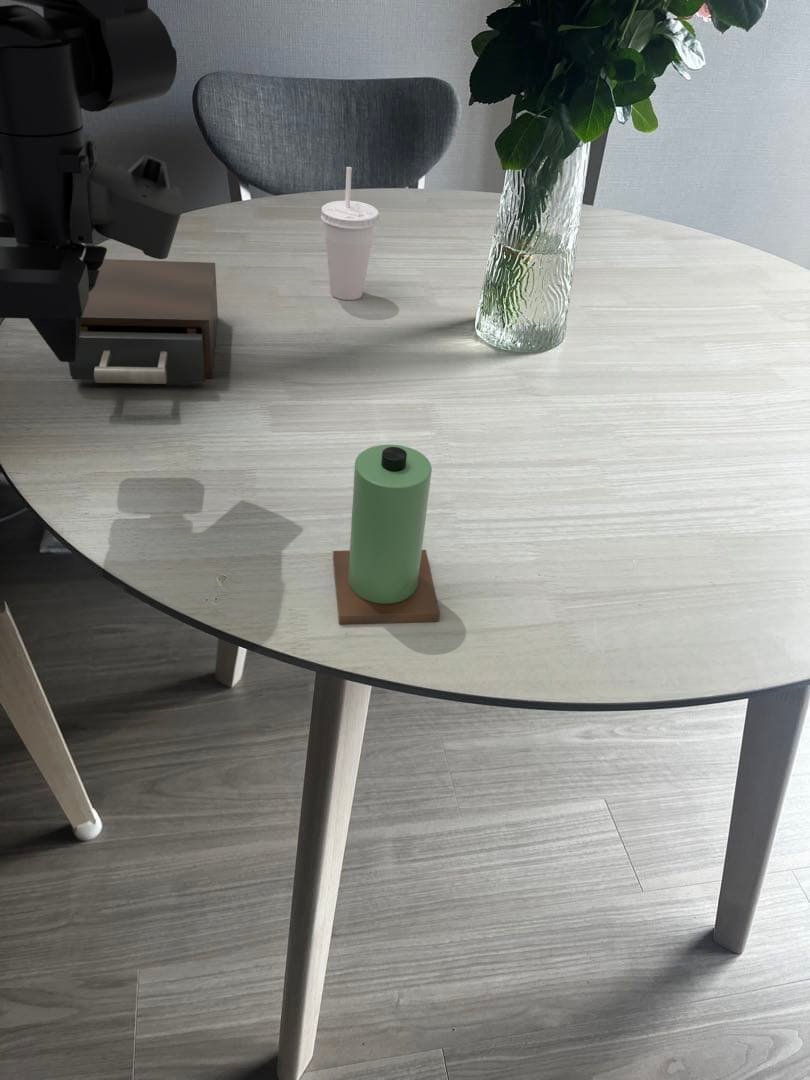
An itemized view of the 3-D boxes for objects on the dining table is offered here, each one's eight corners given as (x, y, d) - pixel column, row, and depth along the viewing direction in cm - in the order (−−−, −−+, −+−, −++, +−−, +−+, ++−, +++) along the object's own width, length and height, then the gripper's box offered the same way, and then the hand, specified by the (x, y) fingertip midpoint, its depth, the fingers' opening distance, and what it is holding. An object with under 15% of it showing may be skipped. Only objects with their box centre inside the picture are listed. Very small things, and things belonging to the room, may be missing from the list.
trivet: (338, 624, 62) (339, 615, 61) (332, 558, 67) (333, 550, 66) (438, 621, 63) (440, 613, 62) (425, 557, 68) (426, 549, 67)
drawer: (201, 407, 80) (198, 364, 78) (63, 405, 79) (55, 361, 76) (210, 322, 94) (208, 283, 91) (92, 320, 92) (86, 279, 89)
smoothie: (352, 278, 108) (358, 157, 99) (385, 298, 104) (394, 174, 96) (308, 288, 105) (310, 164, 96) (340, 309, 101) (345, 181, 92)
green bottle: (422, 603, 63) (438, 475, 56) (350, 605, 62) (358, 475, 55) (412, 557, 67) (427, 432, 60) (345, 558, 66) (352, 432, 59)
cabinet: (212, 378, 86) (209, 319, 83) (70, 376, 84) (60, 316, 81) (217, 317, 97) (215, 262, 93) (91, 314, 95) (83, 258, 91)
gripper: (157, 178, 48) (176, 429, 58) (180, 97, 63) (192, 308, 72) (-65, 166, 46) (-8, 427, 56) (11, 86, 61) (46, 304, 70)
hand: (68, 359), depth 64 cm, fingers closed
